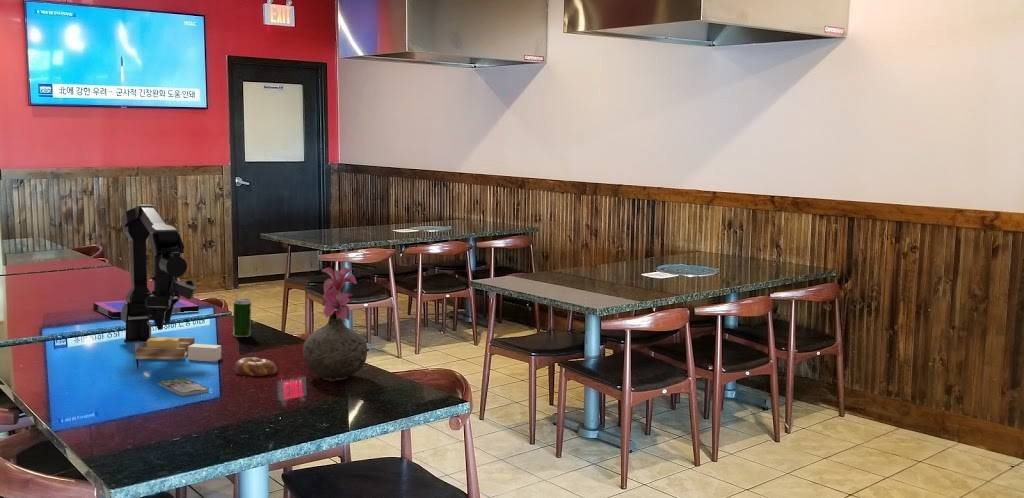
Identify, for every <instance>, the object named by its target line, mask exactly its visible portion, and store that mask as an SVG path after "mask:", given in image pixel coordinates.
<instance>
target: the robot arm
mask: <svg viewBox="0 0 1024 498" xmlns="http://www.w3.org/2000/svg"><path fill="white" fill-rule="evenodd" d="M121 226H122V227H123V233H124V235H125V236H126V238H127V239H128V241H129V258H130V262H129V264H130V290H129V291H128V293H127V294H126V296H125V301H126V303H124V306H123V309H122V311H121V321H123V322H124V323H125V338H124V339H123V342H130V343H131V342H139V343H141V342H142V343H143V342H147V340H148V337H152V324H151V323H150V321H154V324H155V326H156V328H157V330H159V331H161V330H163V328H164V323H165V324H170V322H171V318H172V311H173V308H174V305H175V304H176V303H177V302H178V301H179V300H180V299H181V298H182V297H183V298H185V299H186V300H191V299H192V298H193V297H194V296H195V295H194V294H195V292H196V291H197V285H195V281H193V280H191V279H188V280H187V281H185V282H184V281H180V280H178V279H179V277H182V276H183V275H184V274H185V273H186V272H187V269H188V264H187V263H188V262H187V261H186V260H185V259H184V258H183V257H181V254H184V249H185V245H184V242H183V239H182V236H181V235H180V232H179V231H178V230H177V229H176V228H175V227H174V226H173V225H169V224H166V223H165V222H164V220H163V219H162V217H161V215H159V213H158V212H157V209H156V206H155V205H153V204H138V205H135V207H133V208H131V209H128V210H125V212H124V213H123V214H122V216H121ZM147 240H148V242H149V245H150V247H151V250H152V252H153V253H152V254H153V275H152V276H151V281H153V290H151V291H150V289H149V287H148V264H147V263H148V259H147ZM175 297H177V298H175ZM128 316H129V317H128Z"/></svg>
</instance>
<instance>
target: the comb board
mask: <svg viewBox="0 0 1024 498" xmlns="http://www.w3.org/2000/svg"><path fill="white" fill-rule="evenodd" d="M150 338H180V348H147V341H146V342H142V343H141V347H135V360H185V359H186V358H187V357H188V346H190V345H192V344H196V343H195V337H189V336H187V337H185V336H177V337H176V336H175V337H172V336H151V337H148V339H150Z"/></svg>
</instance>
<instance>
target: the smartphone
mask: <svg viewBox="0 0 1024 498" xmlns="http://www.w3.org/2000/svg"><path fill="white" fill-rule="evenodd" d="M157 385H159V386H161V387H163V388H165V389H166V390H169V391H171V392H172V393H175V394H177V395H179V396H182V397H183V396H191V395H198V394H203V393H204V394H205V393H208V392H209V391H210V389H209V387H207V386H205V385H202V384H200V383H197V382H195V381H194V380H190V379H188V378H186V377H182V378H181V377H180V378H173V379H165V380H159V381H157Z"/></svg>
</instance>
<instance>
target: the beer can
mask: <svg viewBox="0 0 1024 498" xmlns="http://www.w3.org/2000/svg"><path fill="white" fill-rule="evenodd" d="M232 318H233V319H232V320H233V321H232V323H233V324H232V326H233V327H232V335H233V337H234V336H235V337H234V338H236V337H247V338H249V337H250V336H251V332H252V331H251V330H252V329H251V327H252V323H251V322H252V302H251V299H250V298H235V299H234V302H233V316H232Z"/></svg>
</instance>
